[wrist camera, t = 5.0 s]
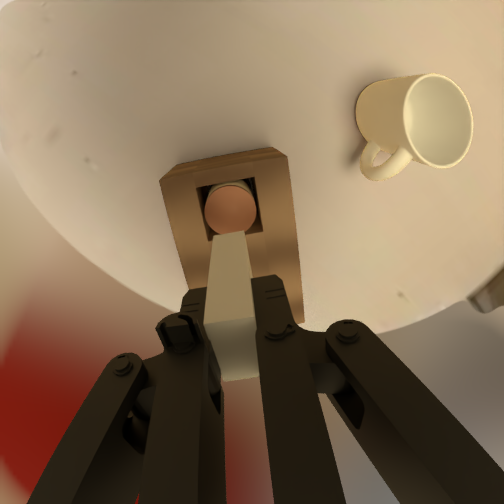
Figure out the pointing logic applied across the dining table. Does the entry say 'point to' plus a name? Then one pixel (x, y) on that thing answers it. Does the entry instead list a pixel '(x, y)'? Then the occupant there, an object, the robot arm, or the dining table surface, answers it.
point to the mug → (413, 123)
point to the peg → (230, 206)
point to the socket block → (257, 236)
